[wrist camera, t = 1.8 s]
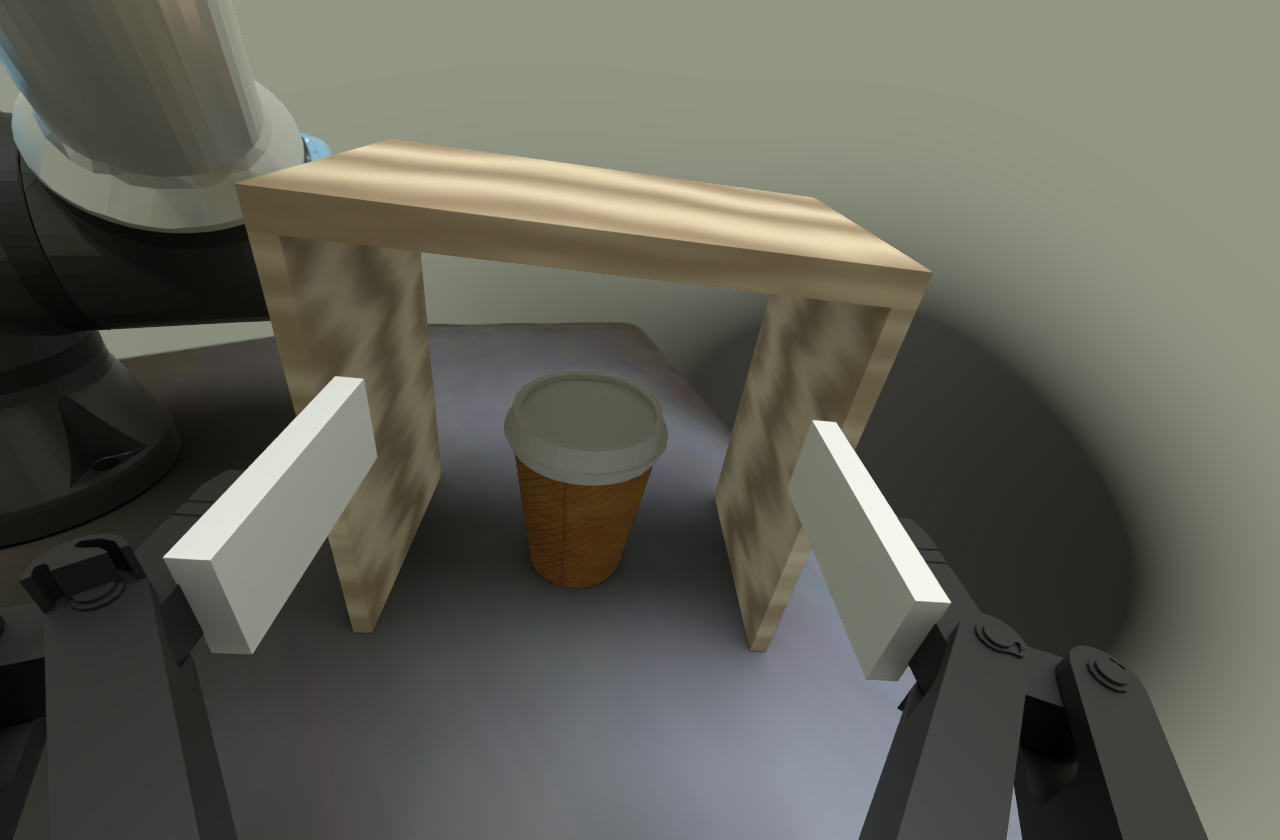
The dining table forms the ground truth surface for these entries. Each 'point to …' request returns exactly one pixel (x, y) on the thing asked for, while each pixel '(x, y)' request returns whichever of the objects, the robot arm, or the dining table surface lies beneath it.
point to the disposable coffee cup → (582, 469)
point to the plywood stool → (583, 241)
